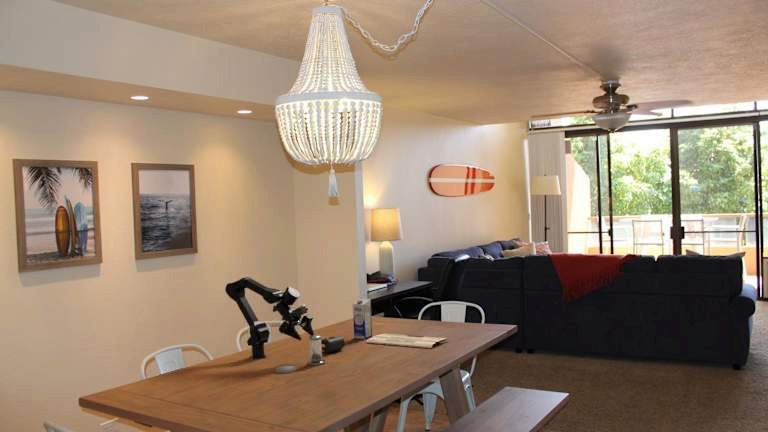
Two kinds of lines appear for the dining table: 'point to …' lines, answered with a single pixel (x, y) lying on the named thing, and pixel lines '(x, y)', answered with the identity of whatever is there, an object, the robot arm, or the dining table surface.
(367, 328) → the milk carton
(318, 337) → the drinking glass
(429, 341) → the newspaper
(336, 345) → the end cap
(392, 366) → the dining table surface
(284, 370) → the coaster
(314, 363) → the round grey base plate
